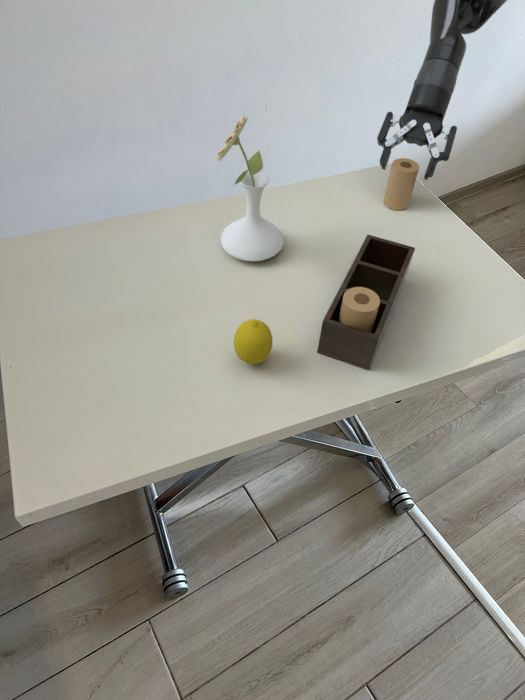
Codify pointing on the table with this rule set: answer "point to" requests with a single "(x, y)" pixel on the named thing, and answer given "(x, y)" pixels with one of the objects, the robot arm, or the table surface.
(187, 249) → the table surface
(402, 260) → the rack
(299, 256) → the table surface
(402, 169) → the towel roll
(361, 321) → the roll
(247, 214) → the flower in vase
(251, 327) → the lemon
